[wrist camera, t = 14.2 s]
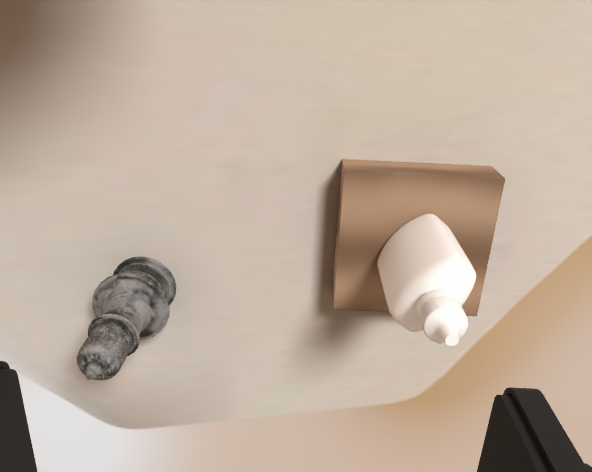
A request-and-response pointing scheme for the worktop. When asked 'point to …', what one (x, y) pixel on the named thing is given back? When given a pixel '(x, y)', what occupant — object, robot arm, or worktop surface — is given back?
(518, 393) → the robot arm
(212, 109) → the worktop surface
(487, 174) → the walnut stand
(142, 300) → the salt shaker
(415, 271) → the eye dropper bottle
